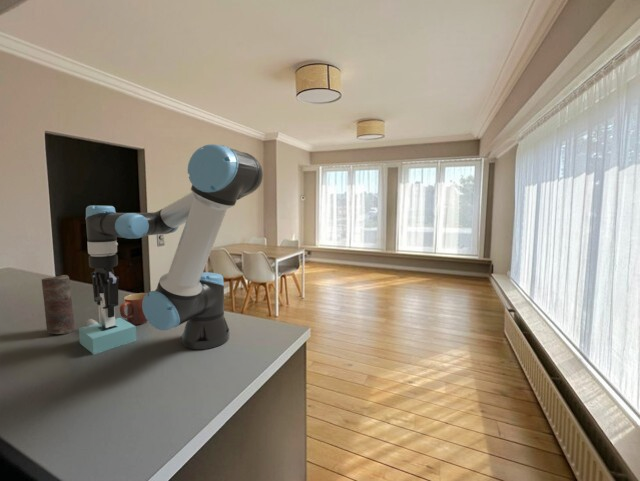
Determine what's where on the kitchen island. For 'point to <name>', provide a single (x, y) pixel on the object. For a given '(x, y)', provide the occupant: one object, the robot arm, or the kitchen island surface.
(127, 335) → the chuck block
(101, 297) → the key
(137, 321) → the mug
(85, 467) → the kitchen island surface
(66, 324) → the brown mottled cylinder
